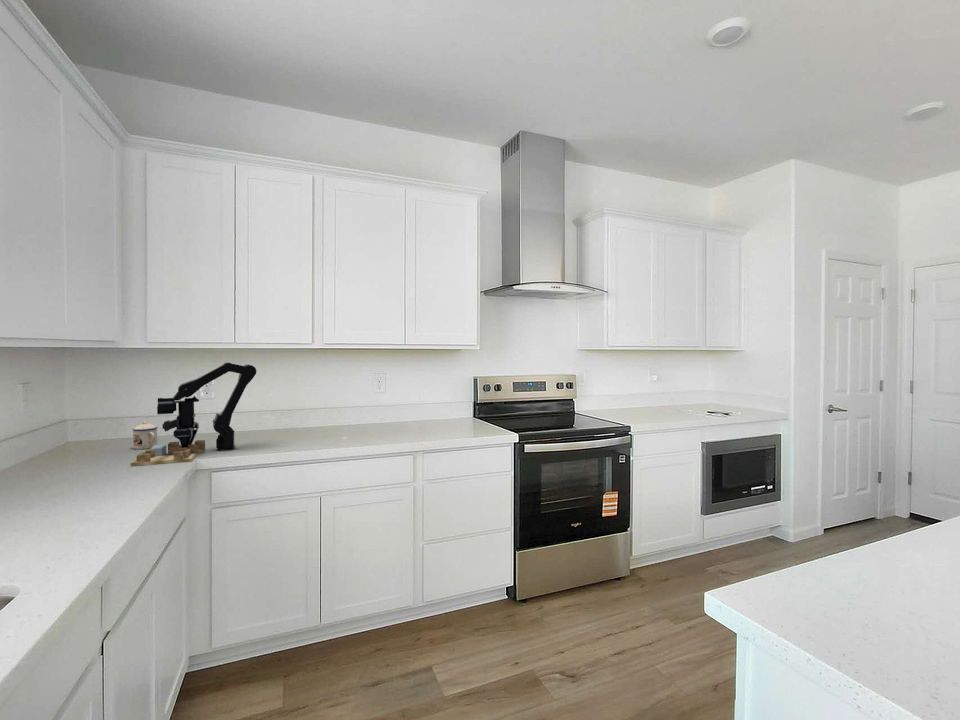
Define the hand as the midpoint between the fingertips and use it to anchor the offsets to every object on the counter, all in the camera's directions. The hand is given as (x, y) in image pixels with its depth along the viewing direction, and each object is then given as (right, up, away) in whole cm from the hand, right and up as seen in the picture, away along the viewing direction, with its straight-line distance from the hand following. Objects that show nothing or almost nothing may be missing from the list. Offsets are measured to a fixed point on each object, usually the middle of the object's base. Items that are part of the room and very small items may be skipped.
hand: (187, 448), depth 198 cm
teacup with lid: (-24, -2, +10) cm, 26 cm away
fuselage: (0, -2, 0) cm, 2 cm away
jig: (0, -2, -14) cm, 14 cm away
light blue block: (-9, -2, -5) cm, 10 cm away
